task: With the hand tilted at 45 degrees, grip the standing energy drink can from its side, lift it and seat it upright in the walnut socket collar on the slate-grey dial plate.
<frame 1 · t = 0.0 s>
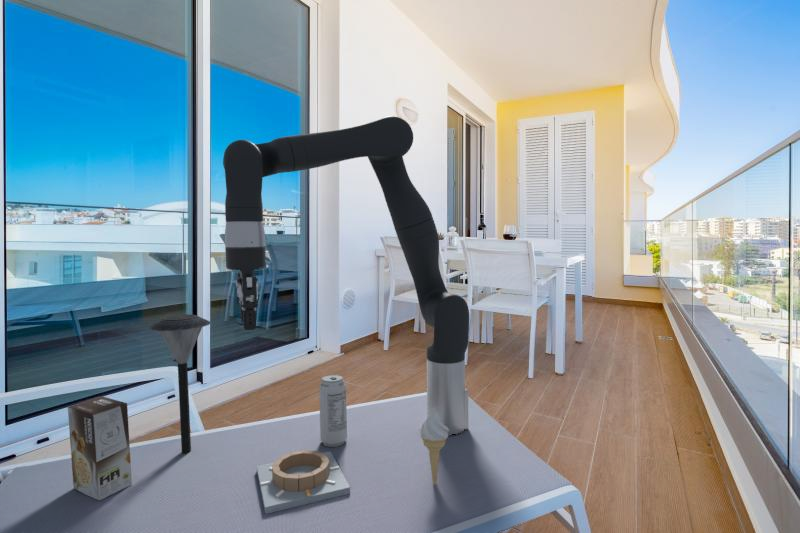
hand: (248, 325, 90), 29 cm above the table, tool pointing down, fingers open, 8 cm apart
ice cream cone: (434, 485, 85), on the table
coffee box: (102, 487, 85), on the table
energy drink can: (333, 442, 103), on the table
dial plate: (301, 482, 86), on the table
solar garden light: (186, 452, 99), on the table
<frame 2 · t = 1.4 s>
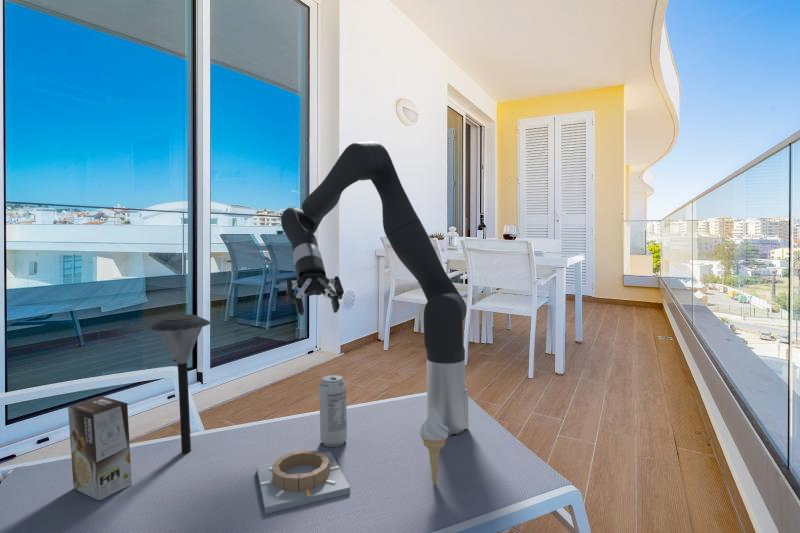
hand: (319, 312, 111), 28 cm above the table, tool tilted 45°, fingers open, 8 cm apart
nothing on the table moved.
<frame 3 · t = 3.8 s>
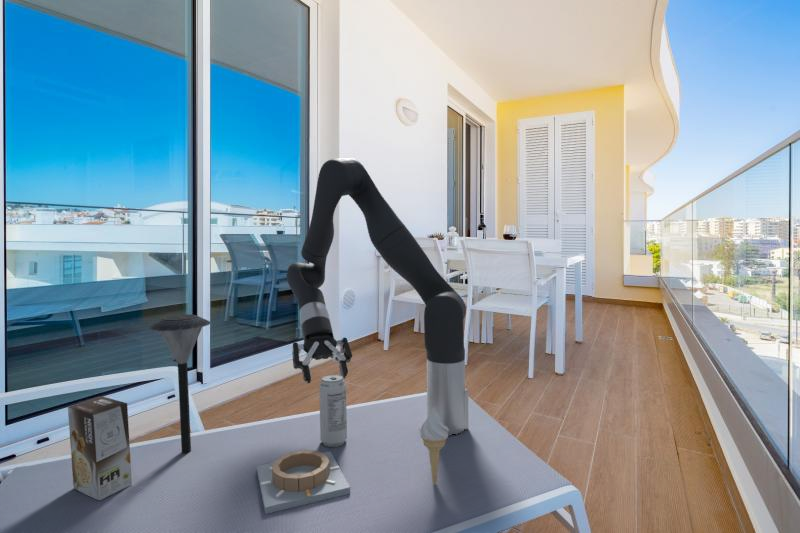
hand: (327, 379, 107), 13 cm above the table, tool tilted 45°, fingers open, 8 cm apart
nothing on the table moved.
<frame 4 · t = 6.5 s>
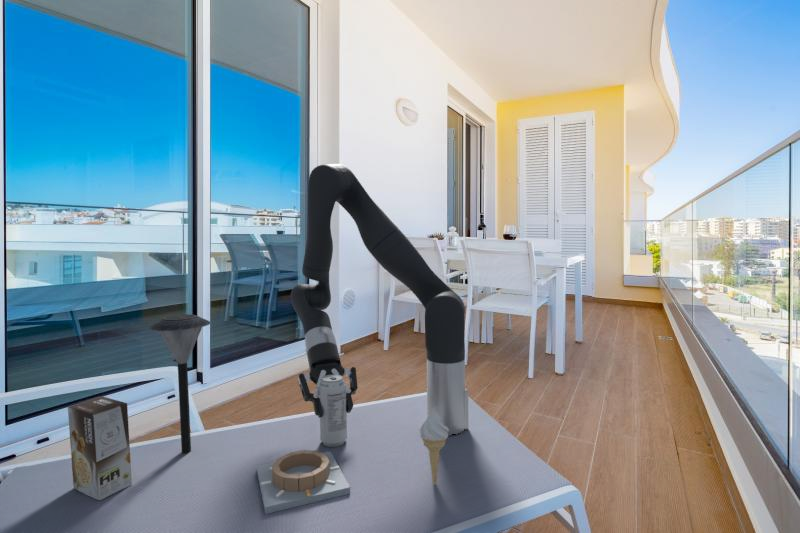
hand: (335, 413, 100), 7 cm above the table, tool tilted 45°, fingers closed on energy drink can, 6 cm apart
energy drink can: (333, 442, 103), on the table, touching gripper
everything else where it was.
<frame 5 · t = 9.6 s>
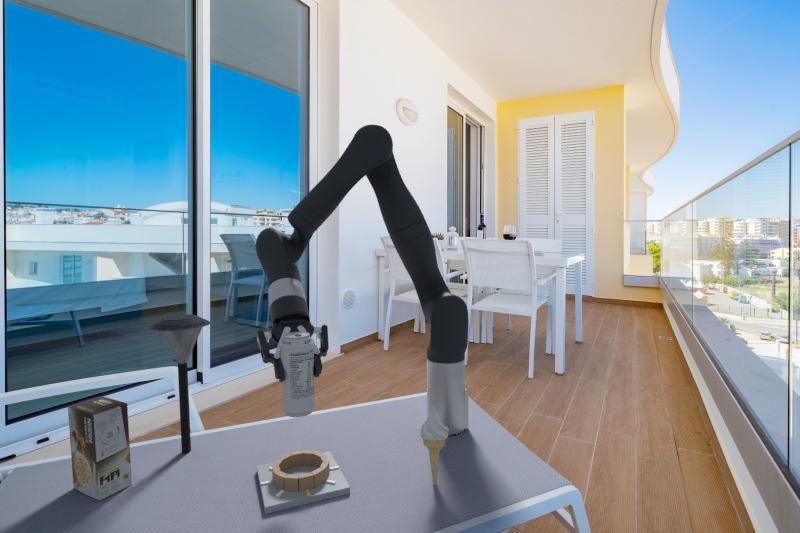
hand: (300, 377, 83), 21 cm above the table, tool tilted 45°, fingers closed on energy drink can, 6 cm apart
energy drink can: (299, 413, 85), point 13 cm above the table, touching gripper
everything else where it was.
when the fingers open (10 cm above the table, at t = 13.1 s): energy drink can drops 1 cm, resting on dial plate.
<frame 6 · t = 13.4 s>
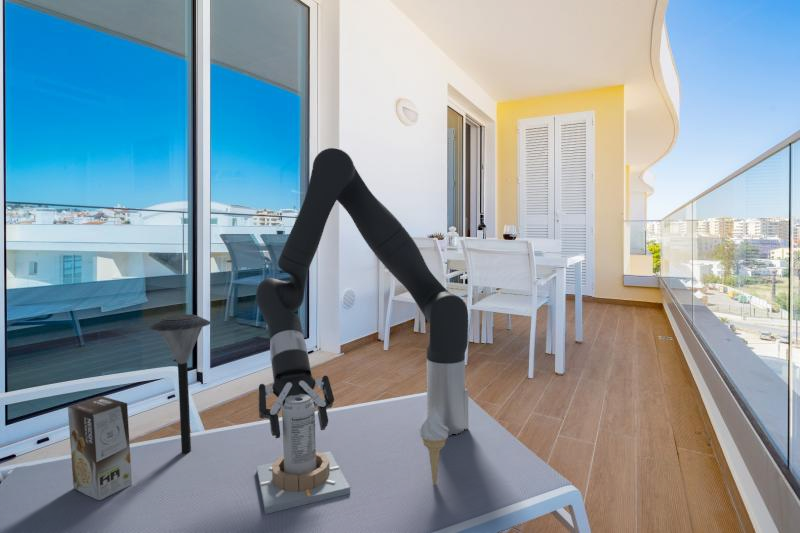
hand: (301, 432, 84), 10 cm above the table, tool tilted 45°, fingers open, 8 cm apart
energy drink can: (300, 475, 86), point 1 cm above the table, touching dial plate
everything else where it was.
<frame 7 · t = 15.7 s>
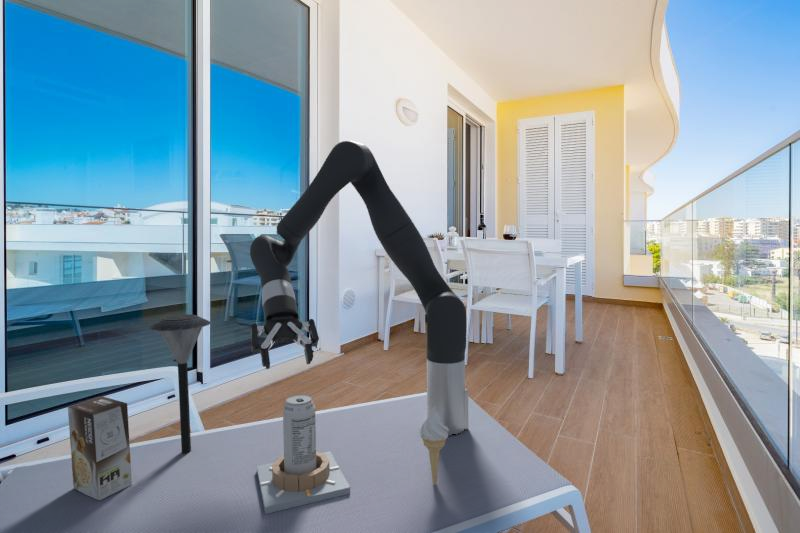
hand: (289, 364, 95), 20 cm above the table, tool tilted 45°, fingers open, 8 cm apart
nothing on the table moved.
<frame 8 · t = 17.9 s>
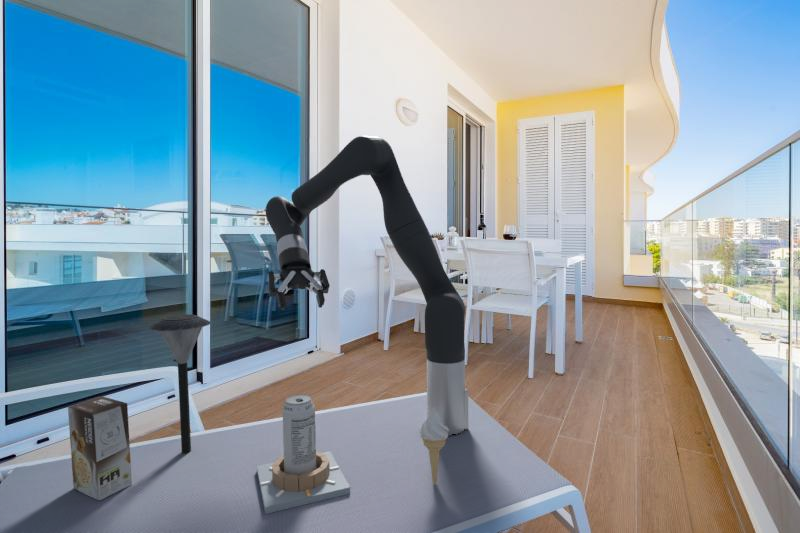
hand: (303, 306, 105), 31 cm above the table, tool tilted 45°, fingers open, 8 cm apart
nothing on the table moved.
at the end: energy drink can 0.3 cm off-centre on the dial plate, point 1.0 cm above the dial plate's base; energy drink can tilted 0°; the gripper is holding nothing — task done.
